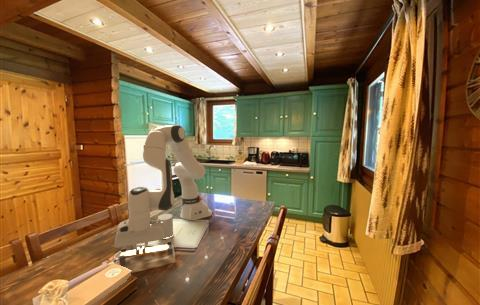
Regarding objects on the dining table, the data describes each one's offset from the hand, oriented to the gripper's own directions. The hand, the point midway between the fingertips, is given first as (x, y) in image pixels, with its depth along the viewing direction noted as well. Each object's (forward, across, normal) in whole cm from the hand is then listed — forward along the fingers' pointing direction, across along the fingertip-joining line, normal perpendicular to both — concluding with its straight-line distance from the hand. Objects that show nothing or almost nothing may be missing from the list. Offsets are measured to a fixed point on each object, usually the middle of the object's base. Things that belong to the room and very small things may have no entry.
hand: (140, 251), depth 92 cm
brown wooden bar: (+1, -3, 0) cm, 3 cm away
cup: (+6, -12, -21) cm, 24 cm away
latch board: (+6, -3, 0) cm, 6 cm away
